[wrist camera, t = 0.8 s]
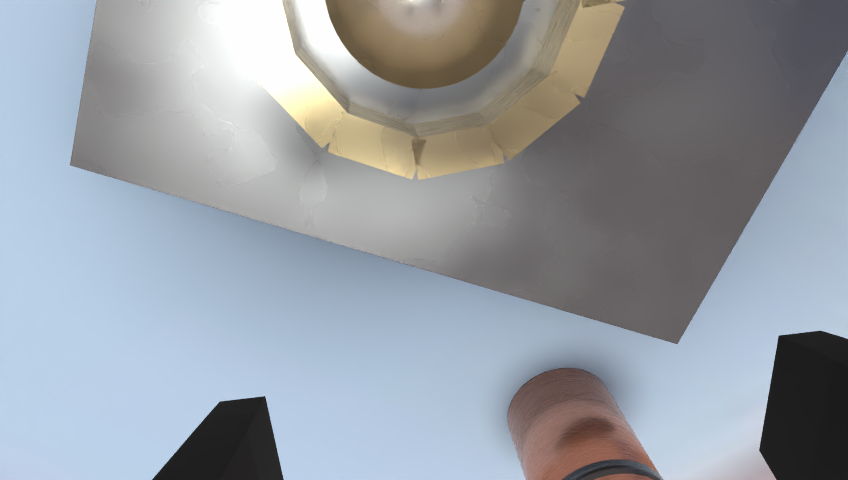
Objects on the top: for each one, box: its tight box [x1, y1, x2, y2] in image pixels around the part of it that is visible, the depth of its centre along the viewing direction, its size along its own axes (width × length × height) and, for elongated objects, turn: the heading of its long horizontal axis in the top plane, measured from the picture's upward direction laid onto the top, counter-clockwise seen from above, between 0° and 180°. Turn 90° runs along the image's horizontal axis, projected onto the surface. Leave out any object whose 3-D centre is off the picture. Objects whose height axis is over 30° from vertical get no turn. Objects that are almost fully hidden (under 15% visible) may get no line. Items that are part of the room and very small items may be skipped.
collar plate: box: [70, 0, 848, 344], centre depth 14 cm, size 18×14×2 cm
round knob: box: [508, 368, 663, 480], centre depth 18 cm, size 4×4×5 cm
